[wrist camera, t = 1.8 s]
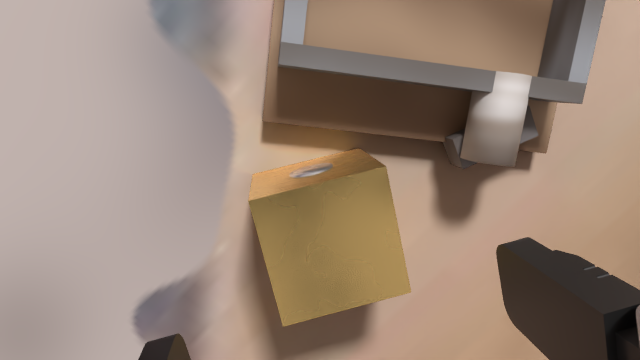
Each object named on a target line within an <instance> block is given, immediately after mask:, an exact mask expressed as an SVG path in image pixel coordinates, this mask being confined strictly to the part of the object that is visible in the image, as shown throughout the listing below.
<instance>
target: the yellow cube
mask: <svg viewBox="0 0 640 360" xmlns="http://www.w3.org/2000/svg"><path fill="white" fill-rule="evenodd" d="M248 202H249V205H250V209H251V213H252V216H253V220H254V224H255V227H256V231H257V234H258V238H259V242H260V245H261V249H262V253H263V256H264V260H265V263H266V267H267V271H268V274H269V278H270V282H271V285H272V289H273V292H274V296H275V300H276V303H277V307H278V311H279V314H280V318H281V321H282V325H283V327H284V326H288V325H292V324H295V323H299V322H303V321H307V320H310V319H314V318H318V317H321V316H325V315H329V314H333V313H336V312H340V311H344V310H347V309H351V308H355V307H359V306H362V305H366V304H370V303H373V302H377V301H381V300H385V299H388V298H392V297H396V296H399V295H403V294H407V293H410V292H411V289H410V284H409V279H408V274H407V269H406V264H405V259H404V254H403V249H402V244H401V239H400V234H399V229H398V224H397V219H396V214H395V209H394V204H393V199H392V194H391V189H390V184H389V179H388V174H387V169H386V166H385V165H383V164H382V163H380V162H379V161H377V160H376V159H374V158H373V157H372V156H370V155H369V154H367V153H366V152H364V151H363V150H361V149H360V148H357V149H353V150H349V151H345V152H341V153H336V154H332V155H328V156H324V157H320V158H316V159H312V160H308V161H304V162H300V163H296V164H292V165H288V166H284V167H280V168H276V169H272V170H268V171H264V172H260V173H256V174H253V176H252V182H251V188H250V194H249V199H248Z"/></svg>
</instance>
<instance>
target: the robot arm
mask: <svg viewBox="0 0 640 360" xmlns="http://www.w3.org/2000/svg"><path fill="white" fill-rule="evenodd" d="M496 255H497V262H498V269H499V275H500V282H501V288H502V295H503V301H504V305H505V308H506V311H507V314H508V316H509V318H510V319H511V321H512V323H513V324H514V325H515V326H516V328H518V329H519V330H520V331H521V332H522V333H523V334H524V335H525V336H526V337H527V338H528V339H529V340H530V341H531V342H532V343H533V344H534V345H535V346H536V347H537V348H538V349H539V350H540V351H541V352H542V353H543V354H544V355H545V356H546V357H547V358H548V359H549V360H640V290H638V289H637V288H635V287H633V286H631V285H629V284H628V283H626V282H624V281H622V280H621V279H619V278H617V277H615V276H613V275H609V273H608V272H606V271H604V270H603V269H601V268H599V267H595V265H594V264H592V263H590V262H588V261H586V260H585V259H583V258H581V257H579V256H577V255H573V254H569V253H565V252H562V251H558V250H554V251H552V250H550V249H548V248H547V247H545V246H543V245H542V244H540V243H538V242H536V241H535V240H533V239H531V238H528V237H527V238H523V239H519V240H516V241H512V242H509V243H505V244H501V245H499V246H498V247H497V251H496ZM138 360H191V359H190V356H189V353H188V350H187V347H186V344H185V342H184V339H183V338H182V336H181V335H180V334H174V335H171V336H167V337H164V338H160V339H156V340H153V341H149V342H147V343H146V344H145V346H144V348H143V350H142V353H141V355H140V357H139V359H138Z"/></svg>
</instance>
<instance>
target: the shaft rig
mask: <svg viewBox="0 0 640 360" xmlns="http://www.w3.org/2000/svg"><path fill="white" fill-rule="evenodd" d="M605 1H606V0H274V7H273V17H272V28H271V38H270V48H269V59H268V69H267V79H266V90H265V100H264V110H263V121H264V122H273V123H282V124H291V125H300V126H309V127H317V128H326V129H335V130H344V131H353V132H362V133H370V134H379V135H388V136H397V137H406V138H415V139H423V140H432V141H441V142H443V144H444V147H445V150H446V153H447V155H448V158H449V161H450V164H452V165H455V166H457V167H459V168H462V169H465V168H467V167H469V166H471V165H474V164H476V163H478V162H479V163H484V164H491V165H499V166H515V164H516V159H517V154H518V150H521V151H529V152H538V153H546V152H547V148H548V143H549V138H550V134H551V129H552V125H553V120H554V115H555V111H556V106H557V102H559V103H577V104H582V102H583V97H584V93H585V89H586V84H587V80H588V75H589V71H590V67H591V62H592V58H593V53H594V49H595V45H596V40H597V36H598V31H599V27H600V23H601V18H602V14H603V9H604V5H605Z"/></svg>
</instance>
